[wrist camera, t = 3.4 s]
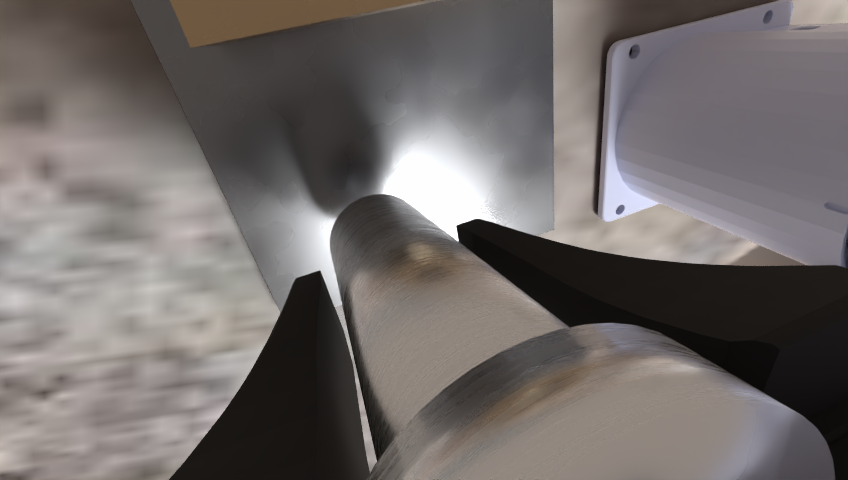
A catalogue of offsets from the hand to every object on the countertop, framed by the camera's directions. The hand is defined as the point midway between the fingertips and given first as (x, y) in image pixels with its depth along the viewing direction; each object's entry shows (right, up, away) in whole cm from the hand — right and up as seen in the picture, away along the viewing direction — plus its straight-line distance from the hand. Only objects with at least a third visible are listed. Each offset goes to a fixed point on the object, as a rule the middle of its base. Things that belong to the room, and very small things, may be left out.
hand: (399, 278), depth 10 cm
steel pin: (-1, +1, +2) cm, 2 cm away
